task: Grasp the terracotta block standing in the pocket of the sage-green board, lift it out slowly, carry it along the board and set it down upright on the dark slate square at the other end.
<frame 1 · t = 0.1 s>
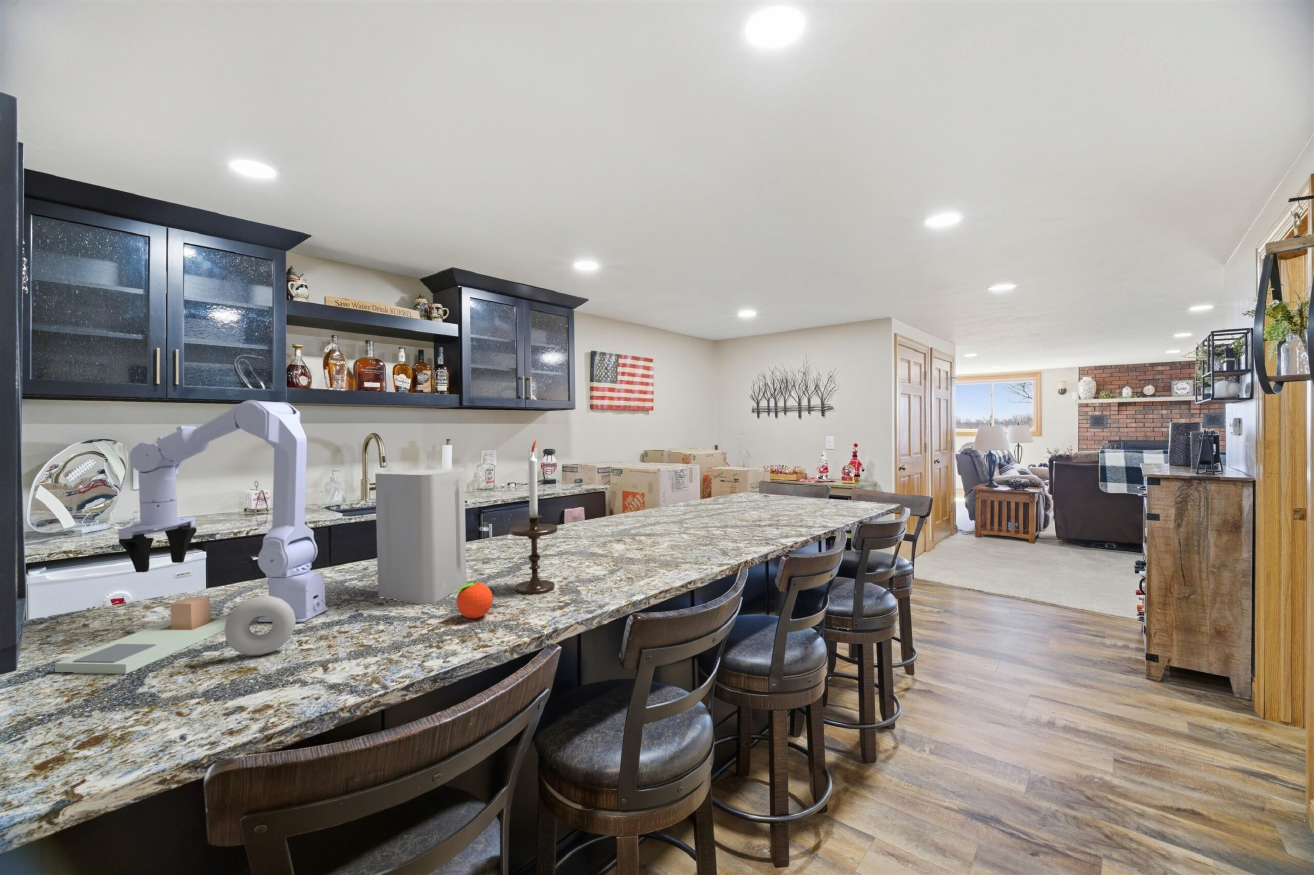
hand: (160, 566, 117), 10 cm above the bar counter, tool pointing down, fingers open, 7 cm apart
grey storage bin: (425, 595, 129), on the bar counter
donut: (261, 655, 96), on the bar counter
terracotta block: (191, 631, 107), resting in pocket board
clementine: (472, 618, 113), on the bar counter
candlestick: (535, 589, 133), on the bar counter
pocket board: (156, 645, 100), on the bar counter
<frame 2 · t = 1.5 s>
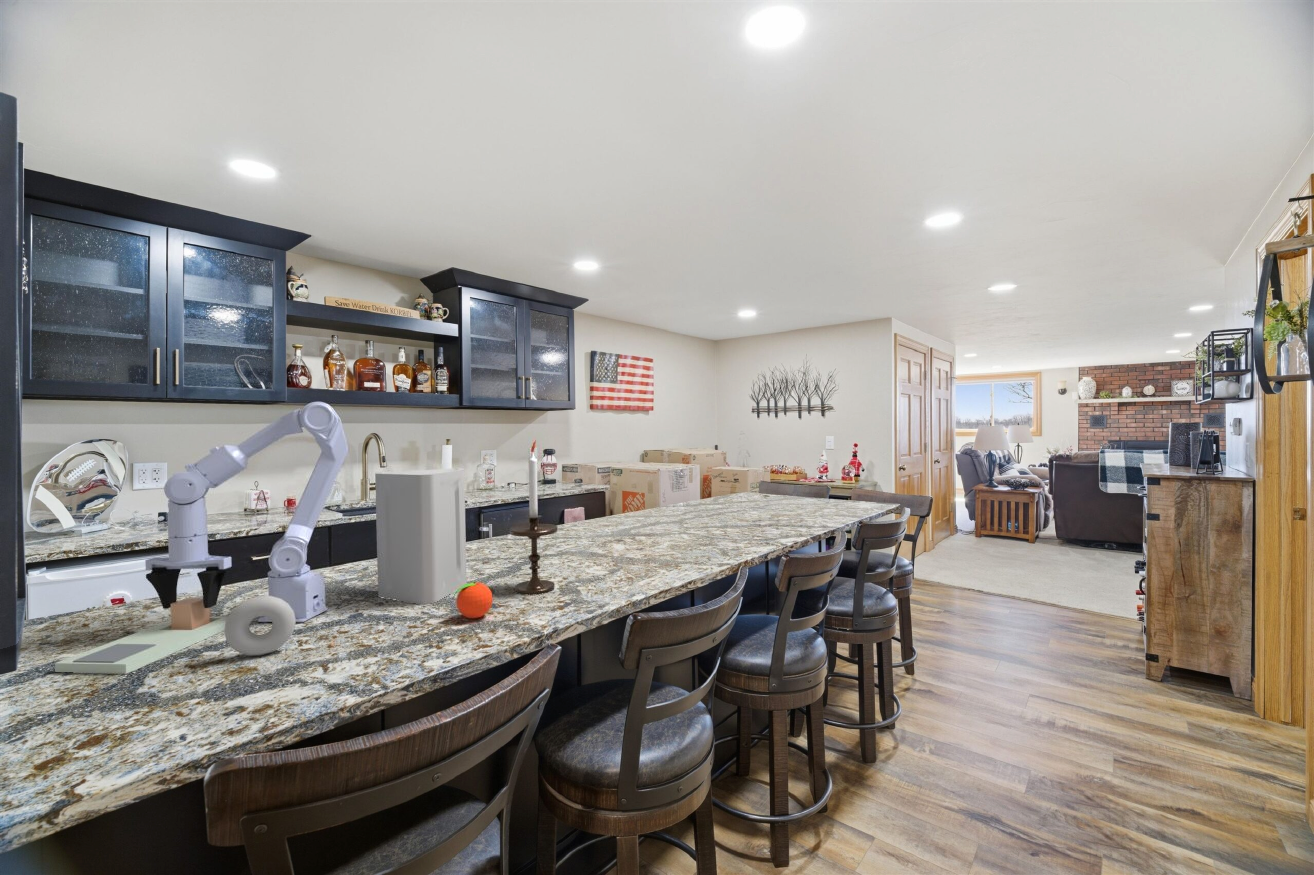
hand: (190, 606, 107), 5 cm above the bar counter, tool pointing down, fingers open, 7 cm apart
nothing on the bar counter moved.
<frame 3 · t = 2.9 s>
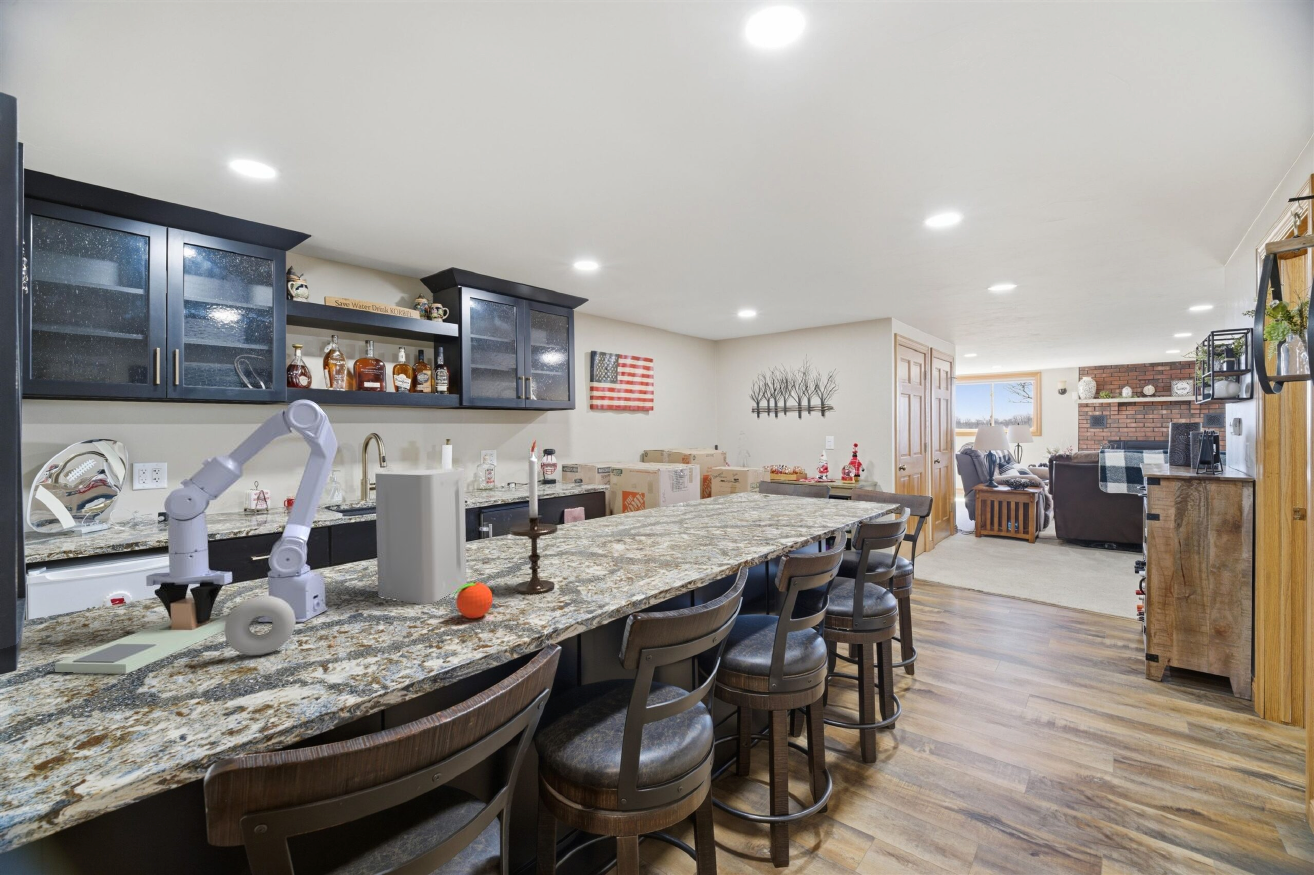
hand: (191, 622, 107), 2 cm above the bar counter, tool pointing down, fingers closed on terracotta block, 4 cm apart
terracotta block: (191, 631, 107), resting in pocket board, touching gripper
everything else where it was.
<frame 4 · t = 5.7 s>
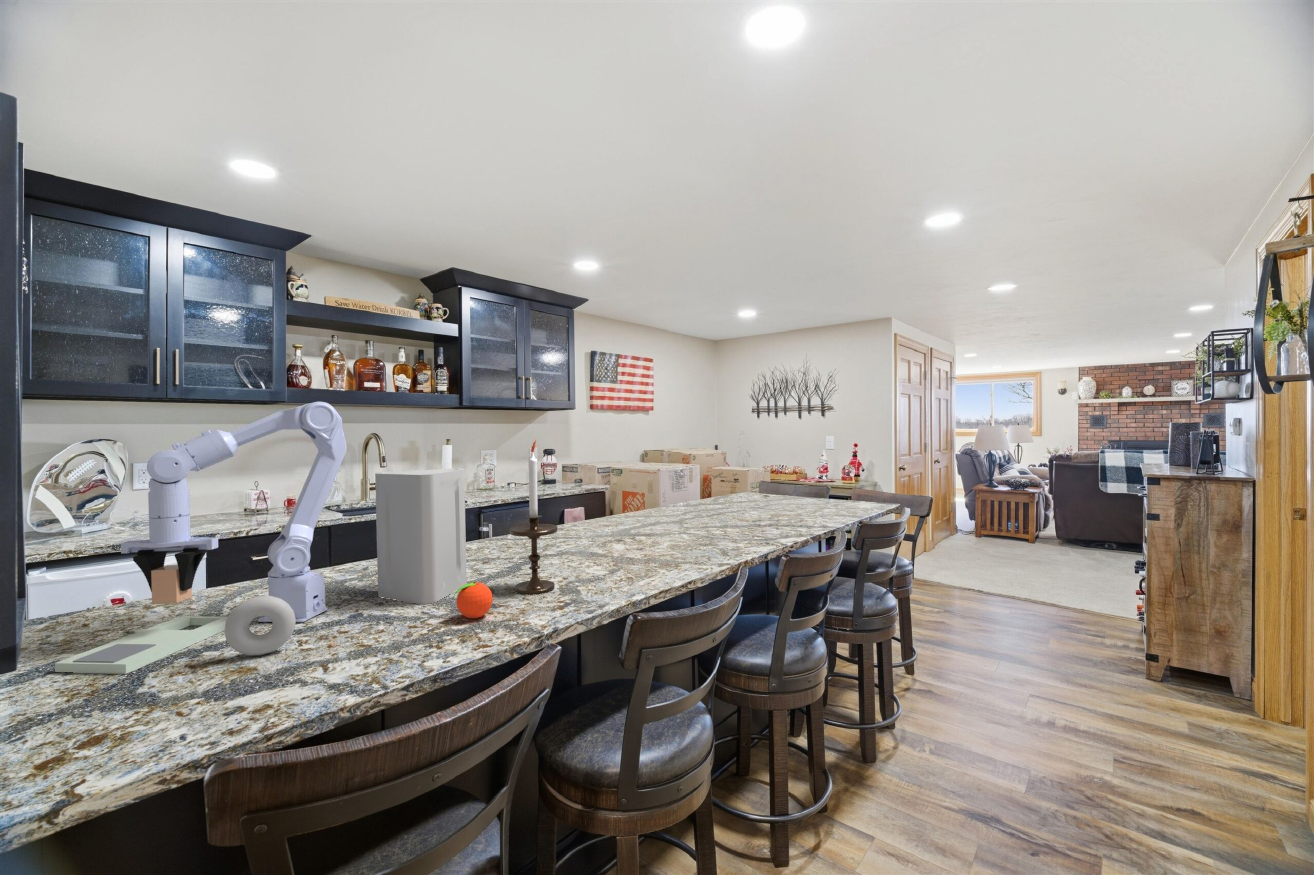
hand: (171, 590, 104), 9 cm above the bar counter, tool pointing down, fingers closed on terracotta block, 4 cm apart
terracotta block: (172, 600, 104), point 7 cm above the bar counter, touching gripper
everything else where it was.
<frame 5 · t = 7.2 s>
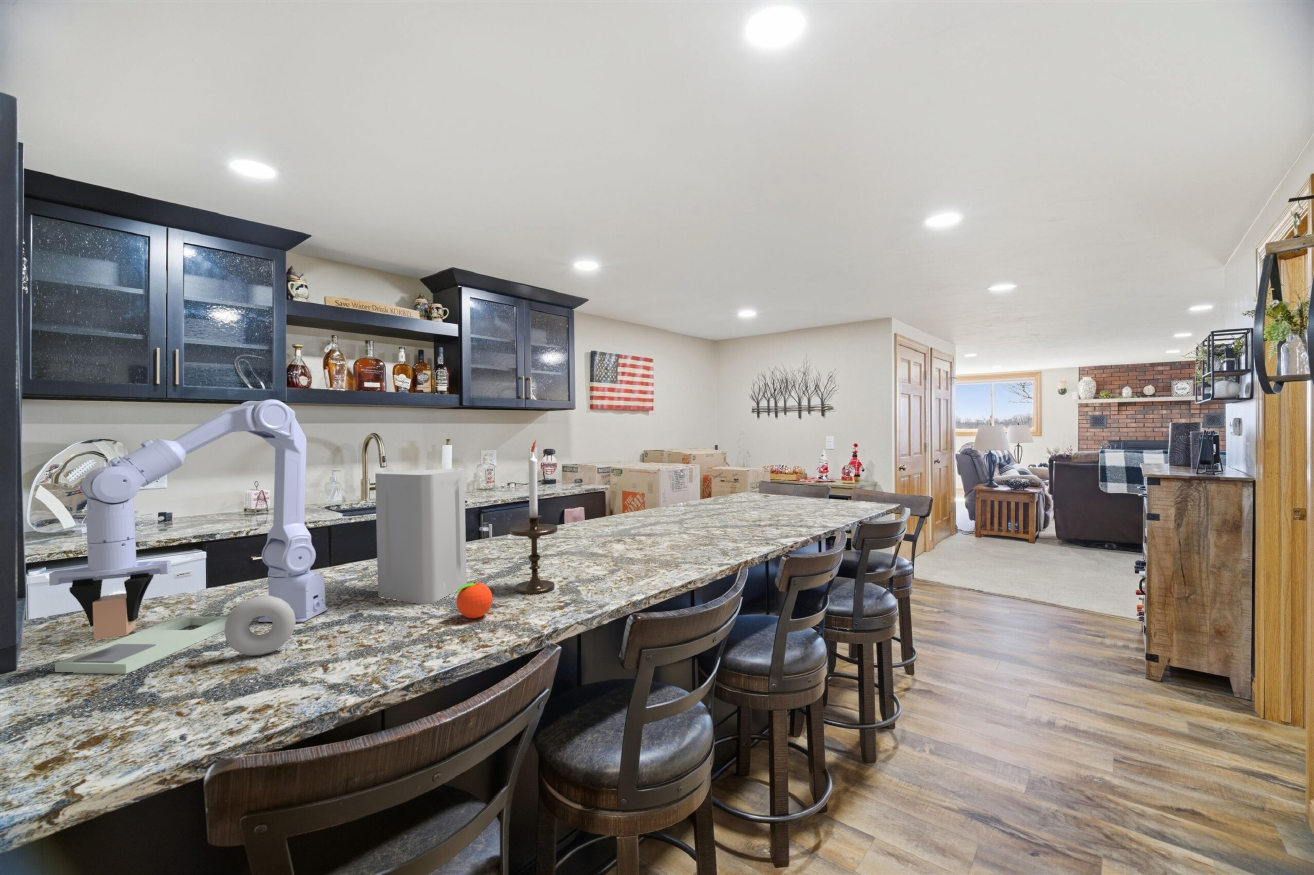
hand: (114, 622, 93), 7 cm above the bar counter, tool pointing down, fingers closed on terracotta block, 4 cm apart
terracotta block: (115, 633, 93), point 5 cm above the bar counter, touching gripper
everything else where it was.
when the fingers open (4 cm above the bar counter, at t = 8.5 s): terracotta block stays where it is, resting on pocket board.
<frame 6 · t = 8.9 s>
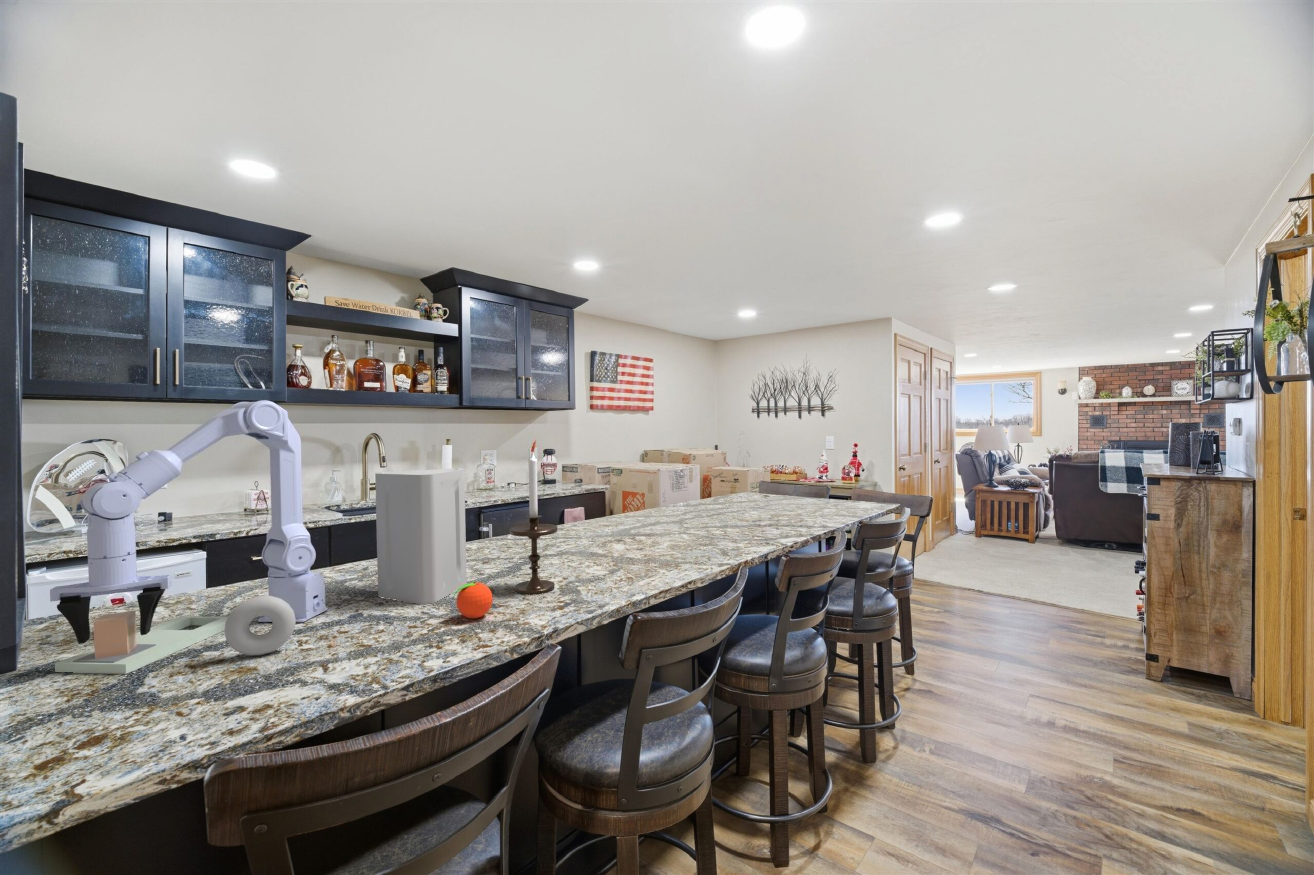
hand: (115, 637, 93), 4 cm above the bar counter, tool pointing down, fingers open, 7 cm apart
terracotta block: (116, 651, 94), point 2 cm above the bar counter, touching pocket board
everything else where it was.
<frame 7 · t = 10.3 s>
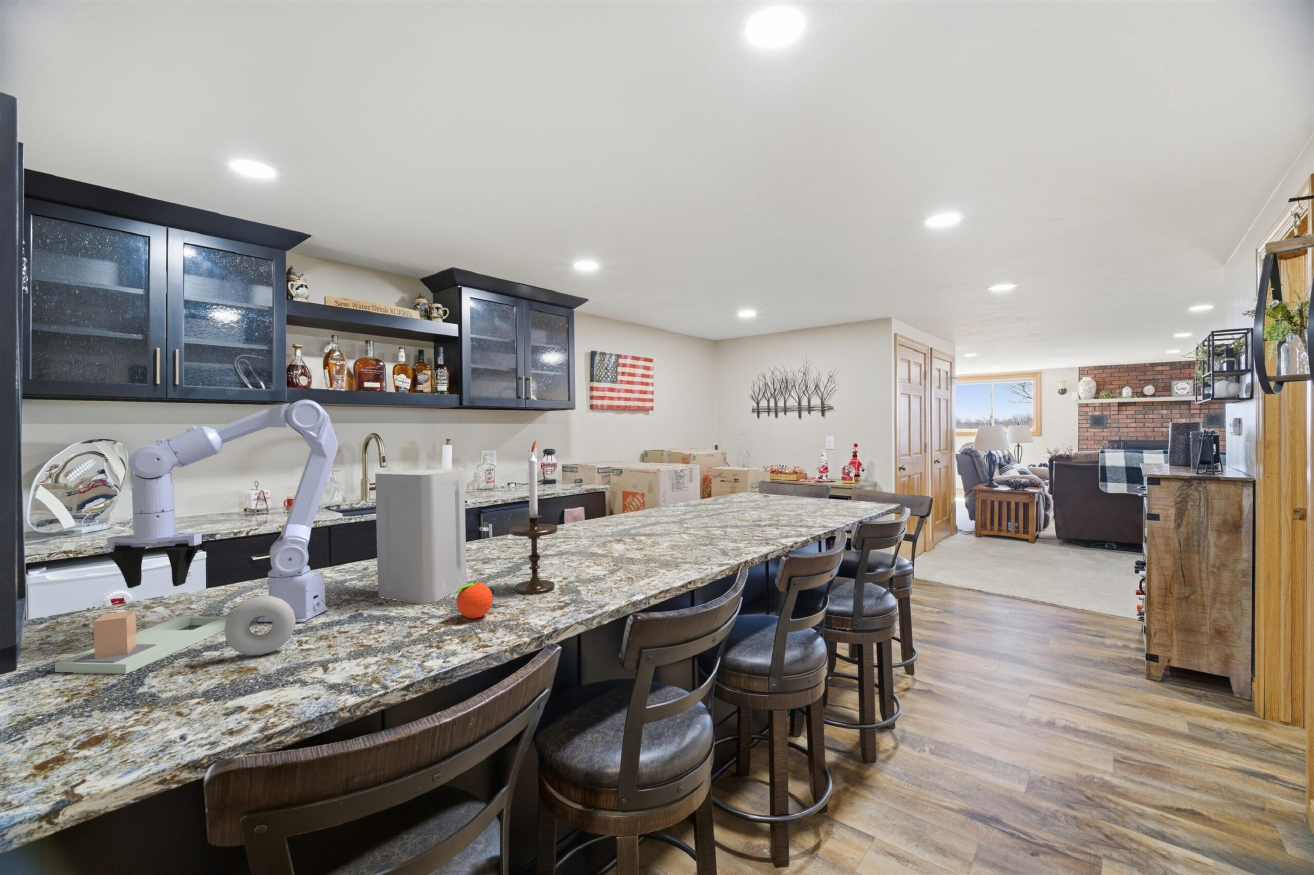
hand: (156, 585, 103), 10 cm above the bar counter, tool pointing down, fingers open, 7 cm apart
nothing on the bar counter moved.
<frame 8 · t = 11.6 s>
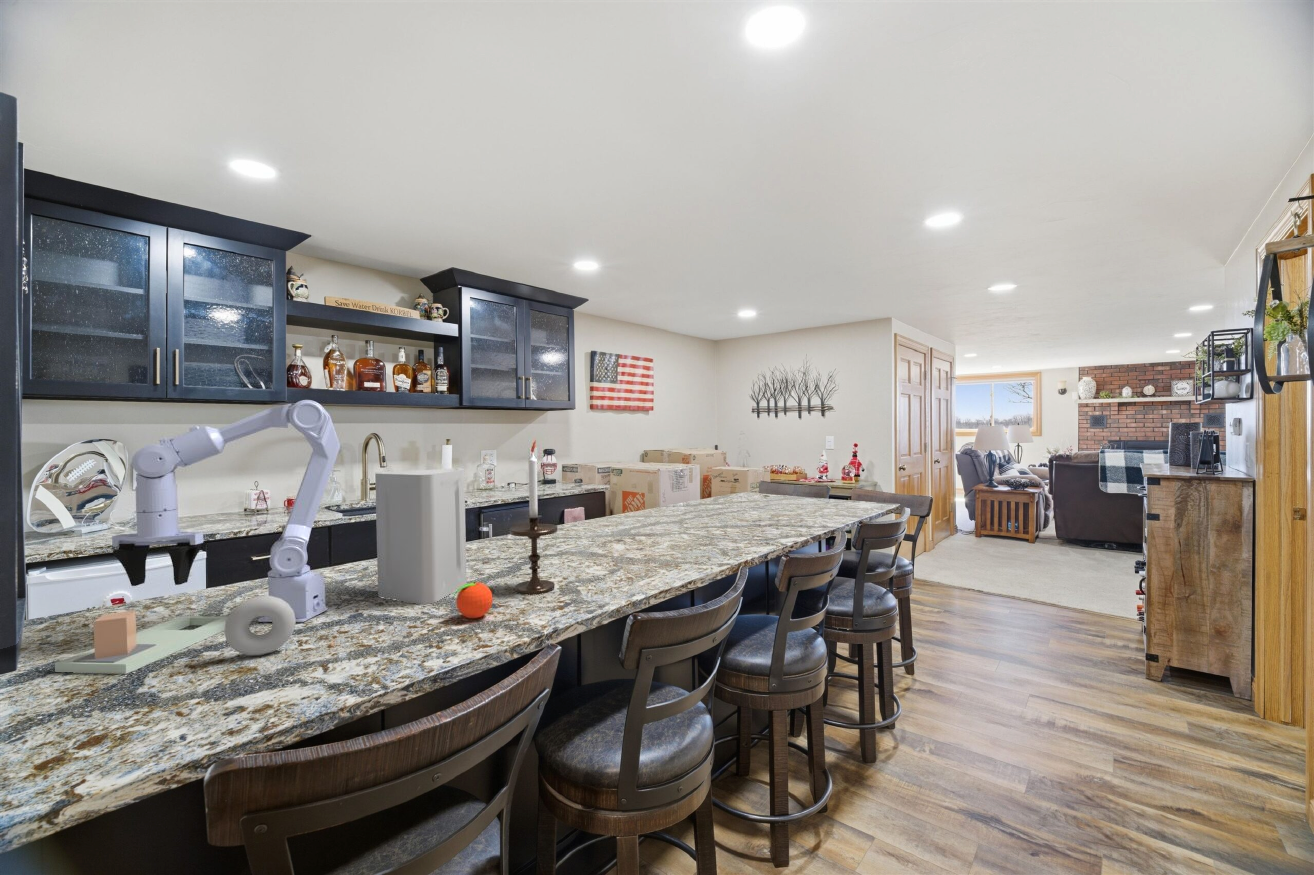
hand: (159, 583, 104), 10 cm above the bar counter, tool pointing down, fingers open, 7 cm apart
nothing on the bar counter moved.
at the end: terracotta block inside the target area on the pocket board (0.1 cm from its centre), point 1.7 cm above the pocket board's base; terracotta block tilted 0°; the gripper is holding nothing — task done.
